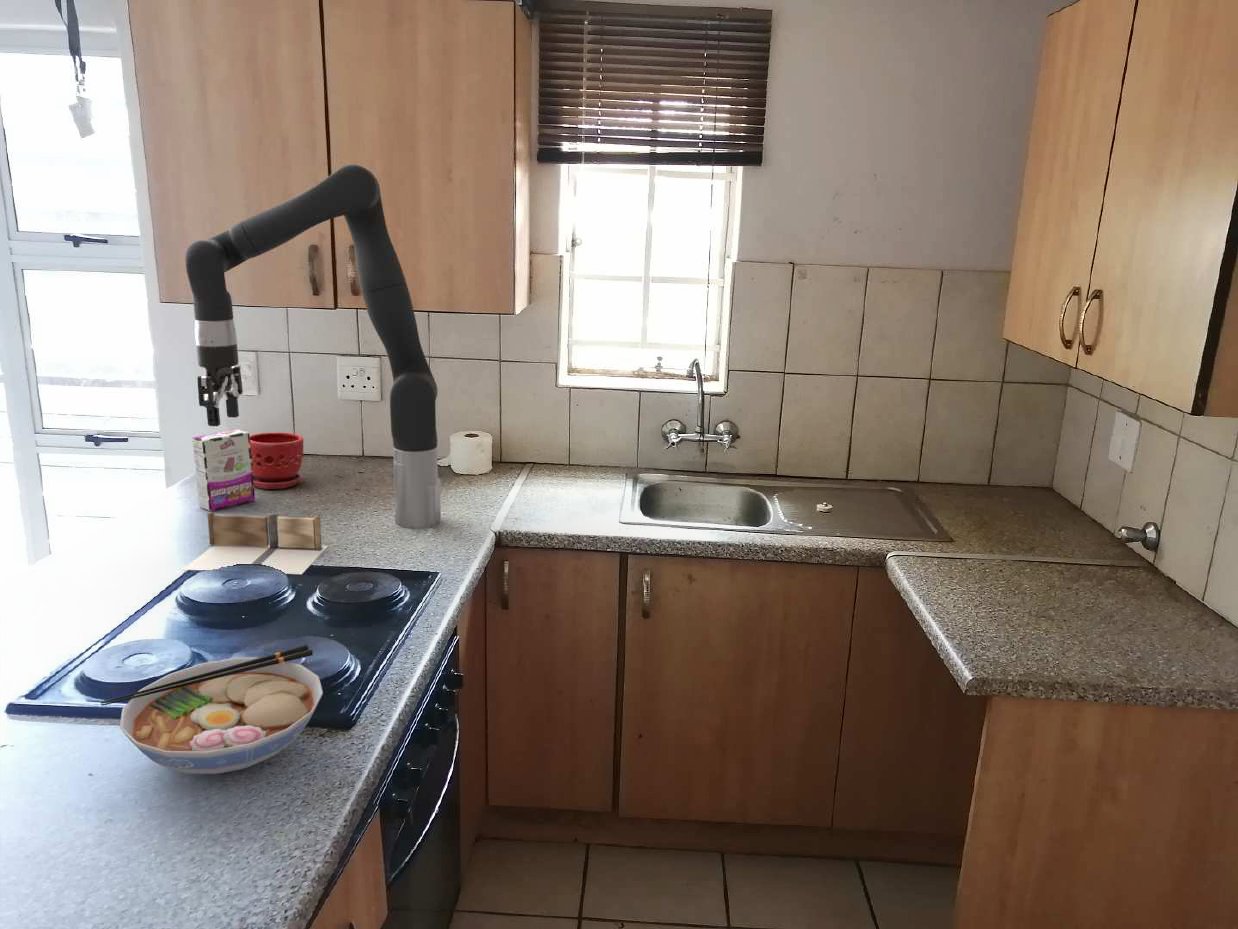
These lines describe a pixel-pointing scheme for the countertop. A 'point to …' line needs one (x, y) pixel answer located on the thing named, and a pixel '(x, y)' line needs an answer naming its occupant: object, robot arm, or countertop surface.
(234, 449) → the candy bar box
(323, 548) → the card
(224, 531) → the fence hinged panel
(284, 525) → the fence fixed
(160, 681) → the ramen bowl
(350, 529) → the countertop surface
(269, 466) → the plant pot
